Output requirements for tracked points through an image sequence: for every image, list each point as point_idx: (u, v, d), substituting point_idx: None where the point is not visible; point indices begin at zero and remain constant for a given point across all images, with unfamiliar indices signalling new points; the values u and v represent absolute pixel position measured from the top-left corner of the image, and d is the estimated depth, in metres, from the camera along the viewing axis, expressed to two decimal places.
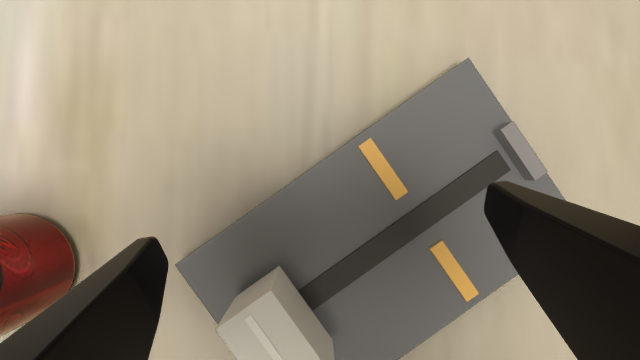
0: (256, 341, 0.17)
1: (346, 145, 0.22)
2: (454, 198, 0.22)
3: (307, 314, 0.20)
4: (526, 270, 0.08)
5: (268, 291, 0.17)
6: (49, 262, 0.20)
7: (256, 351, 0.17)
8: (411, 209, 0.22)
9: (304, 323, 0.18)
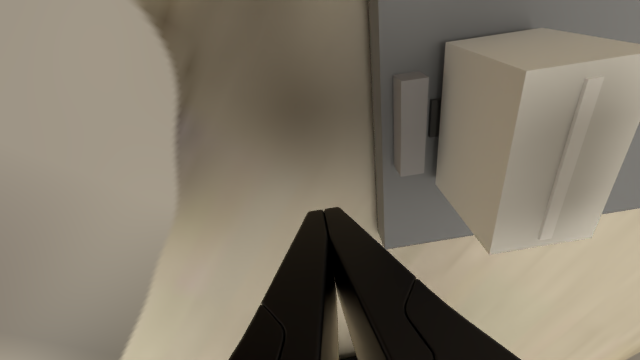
0: (562, 130, 0.09)
1: None
2: None
3: None
4: (341, 301, 0.08)
5: None
6: None
7: (547, 146, 0.09)
8: None
9: None
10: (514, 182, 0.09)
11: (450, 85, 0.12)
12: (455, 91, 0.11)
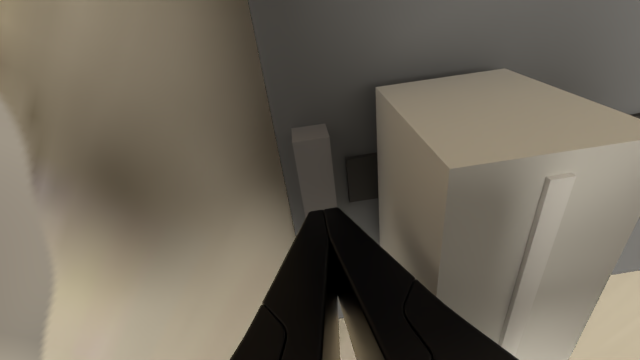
0: (516, 244, 0.06)
1: None
2: None
3: None
4: (340, 301, 0.08)
5: None
6: None
7: (495, 263, 0.06)
8: None
9: None
10: (450, 307, 0.06)
11: (383, 144, 0.09)
12: (386, 154, 0.08)
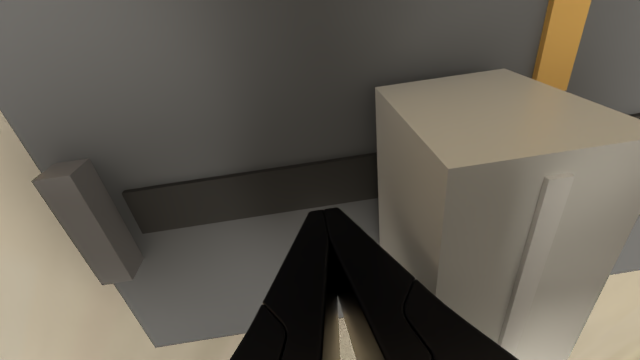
0: (515, 243, 0.06)
1: None
2: None
3: None
4: (340, 301, 0.08)
5: None
6: None
7: (494, 263, 0.06)
8: None
9: None
10: (450, 306, 0.06)
11: (382, 144, 0.09)
12: (386, 154, 0.08)
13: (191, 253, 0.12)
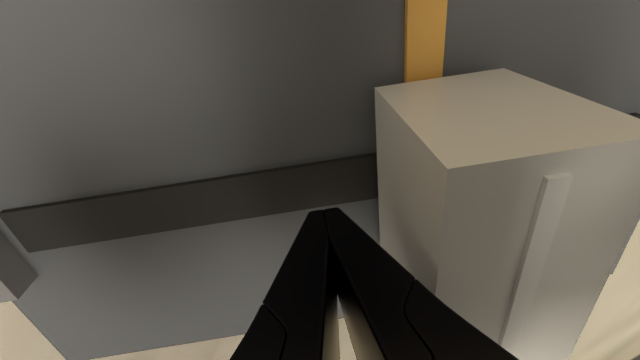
0: (514, 242, 0.06)
1: None
2: None
3: None
4: (340, 301, 0.08)
5: None
6: None
7: (494, 263, 0.06)
8: None
9: None
10: (450, 306, 0.06)
11: (382, 144, 0.09)
12: (386, 154, 0.08)
13: (86, 271, 0.12)
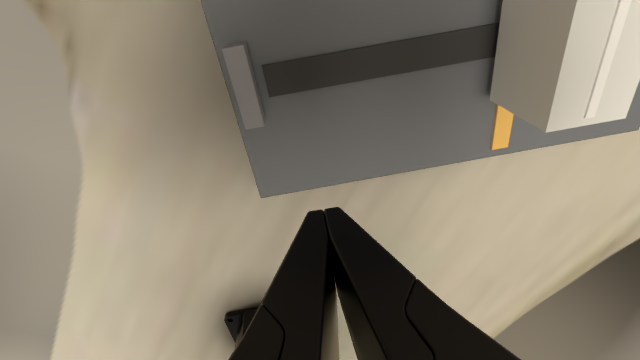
0: (607, 18, 0.12)
1: None
2: None
3: None
4: (341, 301, 0.08)
5: None
6: None
7: (596, 32, 0.12)
8: None
9: None
10: (569, 65, 0.13)
11: (510, 6, 0.15)
12: (515, 10, 0.15)
13: (295, 115, 0.18)
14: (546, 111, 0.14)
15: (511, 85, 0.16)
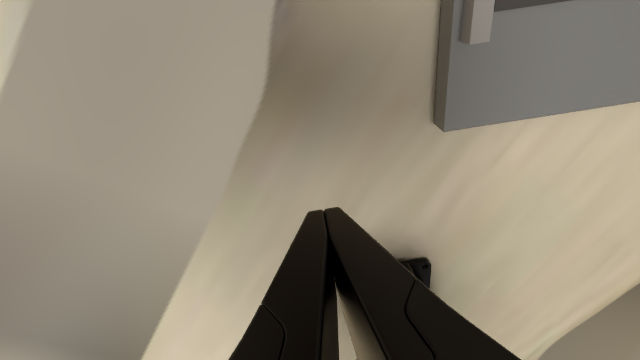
0: None
1: None
2: None
3: None
4: (341, 301, 0.08)
5: None
6: None
7: None
8: None
9: None
10: None
11: None
12: None
13: (509, 36, 0.17)
14: None
15: None
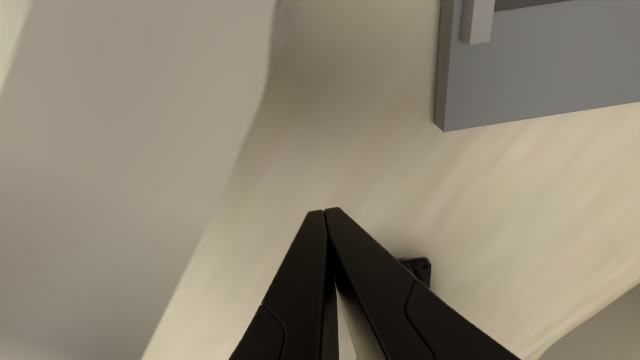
0: None
1: None
2: None
3: None
4: (341, 301, 0.08)
5: None
6: None
7: None
8: None
9: None
10: None
11: None
12: None
13: (509, 36, 0.17)
14: None
15: None
